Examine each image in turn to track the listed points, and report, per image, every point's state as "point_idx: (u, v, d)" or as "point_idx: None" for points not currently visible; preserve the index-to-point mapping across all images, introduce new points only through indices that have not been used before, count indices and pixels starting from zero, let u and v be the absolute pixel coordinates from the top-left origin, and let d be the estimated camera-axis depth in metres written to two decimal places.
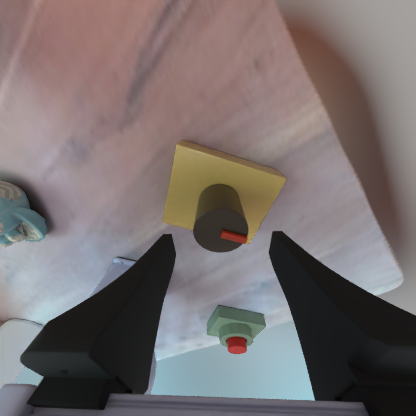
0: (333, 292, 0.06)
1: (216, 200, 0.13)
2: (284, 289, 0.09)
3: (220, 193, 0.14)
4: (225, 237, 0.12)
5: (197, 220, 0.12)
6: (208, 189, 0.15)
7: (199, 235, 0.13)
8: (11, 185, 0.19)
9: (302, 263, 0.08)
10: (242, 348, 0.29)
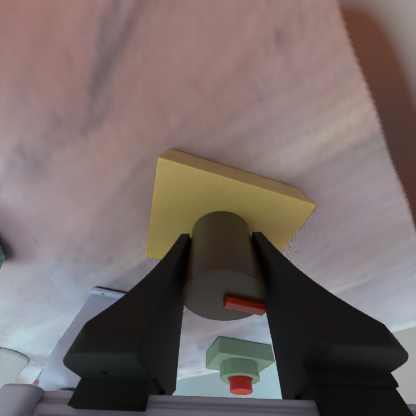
0: (295, 292, 0.06)
1: (216, 246, 0.08)
2: None
3: (223, 232, 0.09)
4: (231, 308, 0.08)
5: (186, 283, 0.07)
6: (205, 219, 0.11)
7: (190, 301, 0.08)
8: None
9: (273, 263, 0.08)
10: (247, 390, 0.25)
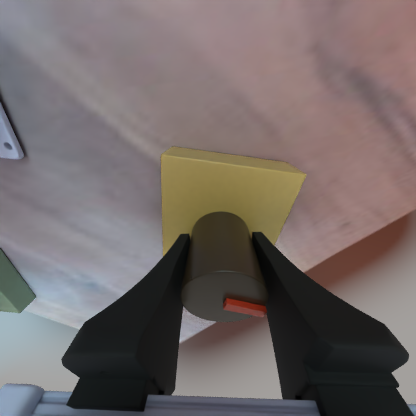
0: (296, 292, 0.06)
1: (216, 247, 0.08)
2: None
3: (223, 233, 0.09)
4: (231, 309, 0.08)
5: (186, 285, 0.07)
6: (205, 220, 0.11)
7: (190, 303, 0.08)
8: None
9: (273, 263, 0.08)
10: None
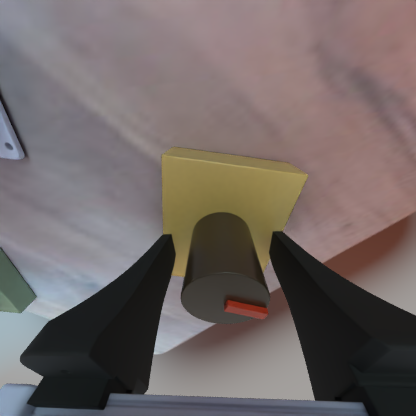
0: (333, 292, 0.06)
1: (217, 248, 0.08)
2: (284, 289, 0.09)
3: (224, 234, 0.09)
4: (232, 311, 0.08)
5: (187, 286, 0.07)
6: (206, 220, 0.11)
7: (191, 304, 0.08)
8: None
9: (302, 263, 0.08)
10: None
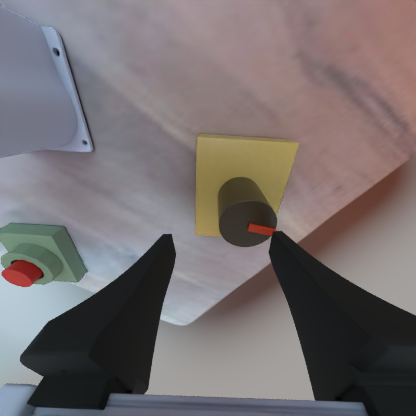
0: (333, 292, 0.06)
1: (240, 192, 0.12)
2: (284, 289, 0.09)
3: (243, 186, 0.13)
4: (253, 230, 0.12)
5: (223, 214, 0.12)
6: (228, 182, 0.15)
7: (225, 230, 0.12)
8: None
9: (302, 263, 0.08)
10: (27, 282, 0.21)
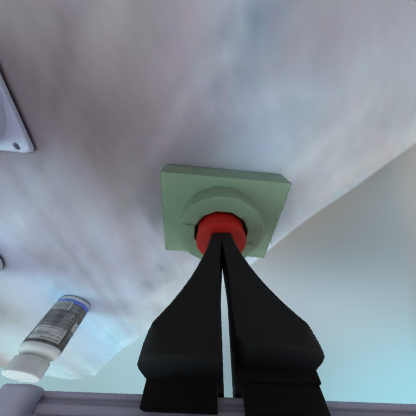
0: (239, 292, 0.06)
1: None
2: (226, 289, 0.10)
3: None
4: None
5: None
6: None
7: None
8: None
9: (229, 264, 0.08)
10: (231, 231, 0.11)
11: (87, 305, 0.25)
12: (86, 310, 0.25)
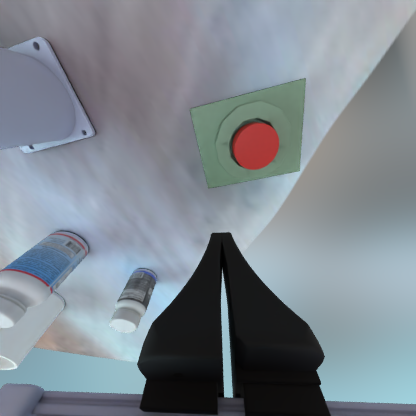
0: (239, 292, 0.06)
1: None
2: (226, 289, 0.10)
3: None
4: None
5: None
6: None
7: None
8: None
9: (229, 264, 0.08)
10: (263, 131, 0.12)
11: (154, 275, 0.29)
12: (155, 279, 0.29)
